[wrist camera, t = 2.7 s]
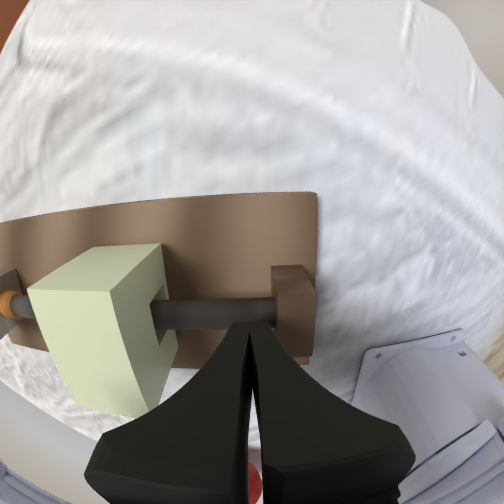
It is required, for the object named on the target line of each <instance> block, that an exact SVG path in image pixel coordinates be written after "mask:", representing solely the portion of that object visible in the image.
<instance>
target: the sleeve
mask: <svg viewBox="0 0 504 504" xmlns="http://www.w3.org/2000/svg"><path fill="white" fill-rule="evenodd" d="M27 292H28V295H29V298H30V301H31V305H32V308H33V311H34V313H35V316H36V319H37V322H38V325H39V327H40V330H41V332H42V335H43V338H44V340H45V342H46V345H47V347H48V349H49V352H50V354H51V356H52V358H53V361H54V363H55V365H56V367H57V369H58V371H59V373H60V375H61V377H62V379H63V381H64V383H65V385H66V387H67V389H68V391H69V392H70V394H71V396H72V398H73V400H74V401H75V403H76V405H77V406H79V407H83V408H87V409H91V410H95V411H100V412H104V413H109V414H114V415H119V416H125V417H131V418H138V417H140V416H142V415H144V414H146V413H147V412H149V411H151V410H152V409H154V408H155V407H157V406H158V404H159V401H160V398H161V395H162V392H163V389H164V386H165V384H166V381H167V378H168V375H169V372H170V369H171V366H172V363H173V360H174V358H175V355H176V352H177V349H178V342H177V337H176V332H175V330H165V329H155V328H154V324H153V319H152V315H151V310H150V305H149V304H150V303H151V301H152V300H169V295H168V289H167V282H166V276H165V269H164V262H163V255H162V247H161V243H154V244H136V245H119V246H102V247H92V248H91V249H89V250H87V251H86V252H84V253H82V254H80V255H79V256H77V257H76V258H74V259H72V260H71V261H69V262H67V263H66V264H64V265H62V266H61V267H59V268H58V269H56V270H55V271H53V272H51V273H50V274H48V275H47V276H45V277H44V278H42V279H41V280H39V281H38V282H36V283H35V284H33V285H32V286H30V287H29V288H27Z"/></svg>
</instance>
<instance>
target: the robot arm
mask: <svg viewBox="0 0 504 504" xmlns="http://www.w3.org/2000/svg"><path fill="white" fill-rule="evenodd" d="M464 336H465V331H464V330H463V329H459V330H455V331H452V332H448V333H444V334H440V335H436V336H432V337H428V338H424V339H419V340H415V341H410V342H405V343H400V344H395V345H390V346H384V347H379V348H373V349H369V350H368V351H366V352H365V354H364V357H363V361H362V365H361V369H360V373H359V377H358V381H357V385H356V389H355V393H354V396H353V400H352V403H351V405H350V404H348V403H346V402H345V401H343V400H342V399H340V398H339V397H337V396H336V395H334V394H332V393H331V392H329V391H328V390H327V389H325V388H324V387H323V386H321V385H320V384H319V383H318V382H317V381H315V380H314V379H313V378H312V377H311V376H310V375H309V374H308V373H306V372H305V371H304V370H303V369H302V368H301V367H300V365H299V364H298V363H297V362H296V361H295V360H294V359H293V358H292V357H291V355H290V354H289V353H288V352H287V350H286V349H285V348H284V347H283V345H282V344H281V342H280V341H279V340H278V338H277V337H276V335H275V333H274V332H273V330H272V328H271V326H270V324H269V323H268V322H267V321H263V322H236V323H232V324H231V325H230V327H229V329H228V331H227V333H226V334H225V336H224V338H223V339H222V341H221V343H220V344H219V345H218V347H217V348H216V350H215V351H214V353H213V354H212V355H211V357H210V358H209V359H208V360H207V362H206V363H205V364H204V365H203V366H202V368H201V369H200V370H199V371H198V372H197V373H196V374H195V375H194V376H193V377H192V378H191V379H190V380H189V381H188V382H187V383H186V384H185V385H184V386H183V387H182V388H181V389H179V390H178V391H177V392H176V393H175V394H173V395H172V396H171V397H170V398H168V399H167V400H166V401H164V402H163V403H162V404H160V405H159V406H157V407H155V408H154V409H152V410H151V411H149V412H147V413H146V414H144V415H142V416H140V417H138V418H137V419H135V420H133V421H131V422H128V423H126V424H124V425H122V426H119V427H117V428H115V429H112V430H110V431H108V432H105V433H103V434H102V436H101V438H100V439H99V441H98V443H97V444H96V447H95V449H94V451H93V453H92V456H91V458H90V461H89V463H88V466H87V468H86V470H85V473H84V477H85V479H86V481H87V483H88V484H89V485H90V486H91V487H92V488H93V489H94V490H95V491H96V492H97V493H98V494H99V495H100V496H102V497H103V498H104V499H105V500H106V501H108V502H109V503H110V504H249V478H248V432H249V421H250V411H251V399H252V388H253V393H254V400H255V407H256V414H257V420H258V427H259V433H260V442H261V462H262V485H263V504H504V386H503V384H502V382H501V381H500V379H499V378H498V377H497V376H496V375H495V374H494V373H493V372H492V371H491V370H490V368H489V367H488V366H487V365H486V364H485V363H484V362H483V361H482V360H481V359H480V358H479V357H478V356H477V355H476V354H475V353H474V352H473V351H472V350H471V349H470V348H469V347H468V346H467V345H466V344H465V343H464V342H463V339H464ZM377 354H378V355H377ZM376 355H377V356H376ZM0 504H72V503H70V502H68V501H65V500H63V499H61V498H59V497H57V496H55V495H53V494H51V493H49V492H47V491H45V490H43V489H41V488H40V487H38V486H36V485H34V484H33V483H31V482H29V481H27V480H26V479H24V478H22V477H21V476H19V475H17V474H16V473H14V472H13V471H11V470H10V469H8V468H7V466H6V465H5V464H4V463H3V462H2V461H1V460H0Z"/></svg>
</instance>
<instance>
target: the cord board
mask: <svg viewBox="0 0 504 504" xmlns="http://www.w3.org/2000/svg"><path fill="white" fill-rule="evenodd" d="M316 218H317V193H314V192H267V193H241V194H222V195H205V196H191V197H178V198H167V199H156V200H146V201H136V202H127V203H118V204H110V205H102V206H95V207H87V208H80V209H74V210H67V211H61V212H55V213H49V214H43V215H37V216H32V217H26V218H21V219H16V220H11V221H6V222H2V223H0V339H2V338H3V337H4V336H5V335H6V334H7V333H8V335H9V337H10V339H11V342H12V343H14V344H18V345H22V346H26V347H30V348H34V349H38V350H42V351H47V352H49V349H48V347H47V345H46V342H45V340H44V338H43V335H42V332H41V330H40V327H39V325H38V322H37V319H36V316H35V313H34V311H33V308H32V305H31V301H30V298H29V295H28V292H27V288H29V287H30V286H32V285H33V284H35V283H36V282H38V281H39V280H41V279H42V278H44V277H45V276H47V275H48V274H50V273H51V272H53V271H55V270H56V269H58V268H59V267H61V266H62V265H64V264H66V263H67V262H69V261H71V260H72V259H74V258H76V257H77V256H79V255H80V254H82V253H84V252H86V251H87V250H89V249H91V248H92V247H102V246H119V245H136V244H154V243H161V247H162V255H163V262H164V269H165V276H166V282H167V289H168V295H169V300H152V301H151V303H150V304H149V305H150V310H151V315H152V319H153V324H154V328H155V329H165V330H175V332H176V337H177V342H178V349H177V352H176V355H175V358H174V360H173V363H172V366H171V368H192V369H201V368H202V366H203V365H204V364H205V363H206V362H207V360H208V359H209V358H210V357H211V355H212V354H213V353H214V351H215V350H216V348H217V347H218V345H219V344H220V343H221V341H222V339H223V338H224V336H225V334H226V333H227V331H228V329H229V327H230V325H231V324H232V323H236V322H263V321H267V322H268V323H269V324H270V326H271V328H272V330H273V332H274V333H275V335H276V337H277V338H278V340H279V341H280V342H281V344H282V345H283V347H284V348H285V349H286V350H287V352H288V353H289V354H290V355H291V357H292V358H293V359H294V360H295V361H296V362H297V363H298V364H299V365H308V364H309V356H312V351H313V341H314V329H315V316H316V302H317V294H316V292H315V290H314V287H315V264H316Z"/></svg>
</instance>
